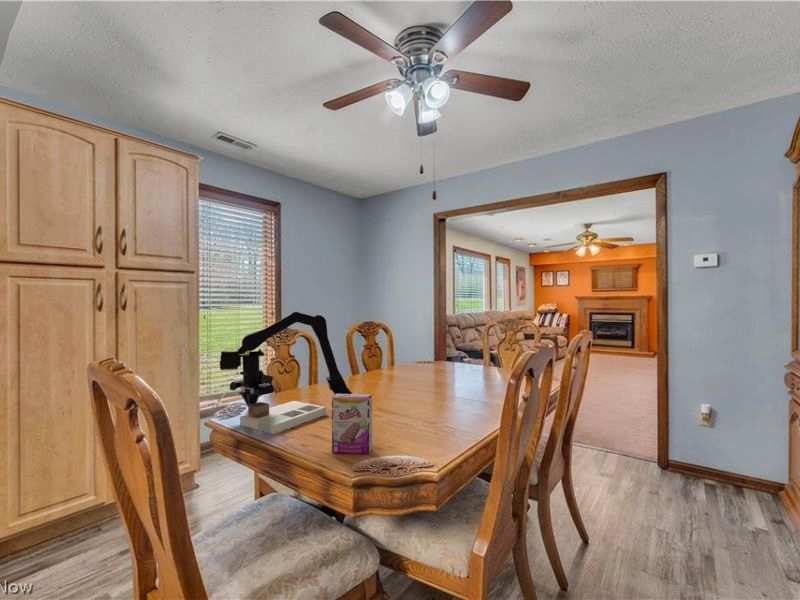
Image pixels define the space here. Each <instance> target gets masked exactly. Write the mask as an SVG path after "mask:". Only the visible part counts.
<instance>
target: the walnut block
mask: <svg viewBox="0 0 800 600" xmlns="http://www.w3.org/2000/svg"><path fill="white" fill-rule="evenodd" d="M247 407H248V410H247V411H248V412H247V414H248V416H249V417H253V418H261V417H264V416H267V415H269V408H270V404H269V403H266V402H262V401H259V402H258V401H257V402H256V403H254V404H251V405H248V406H247Z"/></svg>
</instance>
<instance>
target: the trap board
mask: <svg viewBox="0 0 800 600" xmlns="http://www.w3.org/2000/svg"><path fill="white" fill-rule="evenodd" d="M323 415H324V416H326V415H327V406H322V405H317V404H313V403H306V402H302V401H298V400H292V401H289V402H285V403H281V404H279V405H275V406H272V407H269V415H267V416H264V417H261V418H253V417H249V416H248V413H247V414H245V415H240V416H239V426H241V425H242V427H245V426H246V427H245V428H249V427H250V428H249V429H252V428H253V430H256V429H257V430H256V431H259V430H261V431H260V432H263V431H264V433H266V432H268V433H267V434H270V433H271V435H275V433H276V434H278V433H281V432H284V431H286V429H287V430H289V429H291V427H292V428H294V426H295V427H297V426H300V425H302V424H301V423H303V424H305V423H304V422H306V423H308V422H310V421H309V420H311V421H313V420H312V419H314V420H316V419H319V418H321V417H320V416H322V417H324V416H323ZM318 417H319V418H318ZM315 418H316V419H315ZM307 421H308V422H307ZM299 424H300V425H299ZM296 425H297V426H296ZM283 430H284V431H283Z"/></svg>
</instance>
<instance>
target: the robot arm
mask: <svg viewBox="0 0 800 600" xmlns="http://www.w3.org/2000/svg"><path fill="white" fill-rule="evenodd" d="M296 323H300V324H302V325H306V326H310V327H311V329H312V330H313V332H314V335H315V336H316V338H317V341H318V343H319V346H320V349H321V353H322V355H323V358H324V362H325V364H326V368H327V372H328V376H325V380H326V381H327V385H328V386H327V387H328V389H329V391H331V392H332V394H334V395H335V394H353V392H352V391H351V390H350V388H349V387H348V386H347V383H346V381H345V380H344V378H343V376H342V374H341V372H340V371H339V368H338V365H337V362H336V359H335V355H334V353H333V349H332V347H331V343H330V340H329V338H328V337H329V336H328V335H329V334H328V326H327V325H328V324H327V320H326V318H325V317H324V316H323V315H320V314H315V315H313V316H312V315H309V314H305V313H303V312H299V311H293V312H291V313H290V314H289V315H287V316H285V317H283V318H281V319H280V320H278V321H275V322H274V323H273V324H271V325H269V326H267V327H265V328H262V329H260V330H257V331H254V332H251V333H248V334H247V335H245V336H244V337H243V338H242V341H241V346H240V347H239V348H238V349H237V350H233V351H232V350H230V351H229V350H221V352H220V360H219V368H220V371H232V370H238V368H239V367H242V370H241V371H240V372H239V373H240V375H241V376H242V379H240V380H235V381H231V383H230V384H229V390H230V391H237V390H236V389H239V388H240V391H239V392H238V393H239V395H241V397H242V399H243V400H244V402H245V404H246V407H248V405H251V404H254V403H258V400H259V396H265V395H266V396H267V395H269V394H274V393H275V386H274V385H273V380H274V376H272V375H268V374H265V373H264V372H263V370H261V369H260V357H263V356H265V352H264V351H262V349H261V348H259V347H260V346H261V345H263V343H265V342H266V341H267V340H269V339H270V338H271V337H273V336H274V335H277V334H278V333H280V332H282V331H284V330H285V329H287V328H288V327H291V326H292V325H294V324H296ZM257 348H259V349H258V350H257V351H255V350H256V349H257ZM248 351H249V353H247V352H248Z"/></svg>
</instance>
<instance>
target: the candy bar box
mask: <svg viewBox="0 0 800 600" xmlns="http://www.w3.org/2000/svg"><path fill="white" fill-rule="evenodd" d="M331 399H332V400H331V422H332V423H331V453H332V454H350V455H353V454H354V455H370V453H371V451H372V448H373V438H372V437H373V395H372V394H364V393H363V394H360V393H352V394H334V395H333V396H332V397H331Z"/></svg>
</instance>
